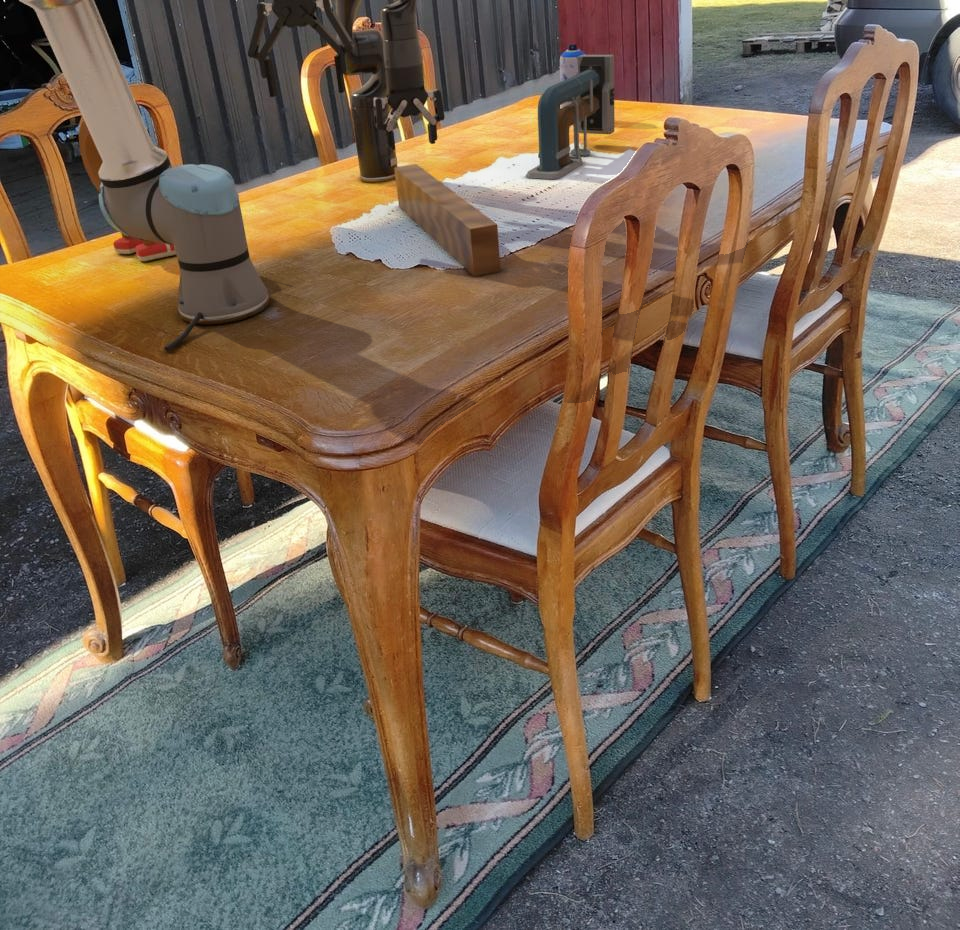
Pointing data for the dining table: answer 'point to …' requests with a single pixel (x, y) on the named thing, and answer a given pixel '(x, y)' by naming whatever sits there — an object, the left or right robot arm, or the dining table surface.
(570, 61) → the aerosol can
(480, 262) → the beam
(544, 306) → the dining table surface
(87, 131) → the toy
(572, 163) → the clamp
